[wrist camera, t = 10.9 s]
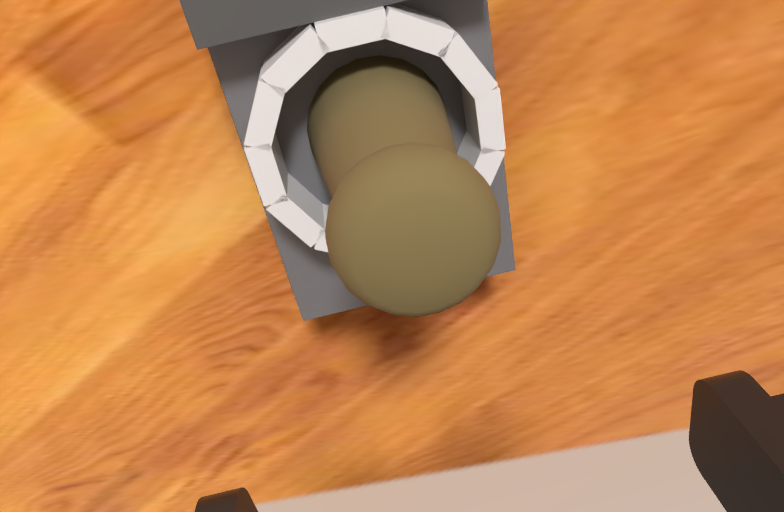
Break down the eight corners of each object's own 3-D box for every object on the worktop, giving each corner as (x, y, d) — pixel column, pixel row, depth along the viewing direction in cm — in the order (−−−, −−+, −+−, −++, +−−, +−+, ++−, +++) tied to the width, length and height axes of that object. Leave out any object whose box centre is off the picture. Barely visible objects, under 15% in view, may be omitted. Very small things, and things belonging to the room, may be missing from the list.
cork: (361, 216, 28) (393, 380, 19) (276, 113, 25) (264, 246, 16) (472, 141, 27) (566, 276, 17) (397, 23, 24) (461, 110, 14)
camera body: (442, -144, 25) (491, -156, 19) (488, 224, 35) (531, 298, 29) (186, -84, 25) (148, -76, 19) (302, 268, 35) (303, 353, 28)
